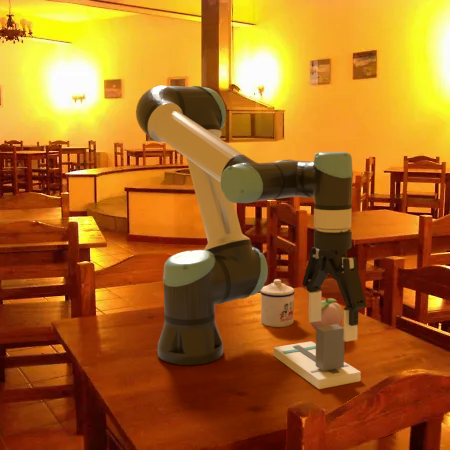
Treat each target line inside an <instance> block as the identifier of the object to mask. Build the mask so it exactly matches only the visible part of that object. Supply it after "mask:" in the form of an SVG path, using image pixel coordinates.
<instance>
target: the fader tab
mask: <svg viewBox="0 0 450 450" xmlns="http://www.w3.org/2000/svg"><path fill="white" fill-rule="evenodd" d="M315 337H316V338H315V344H316V367H318V368H319V369H321V370H322V371H326V370H332V369H337V368H343V367H344V362H345V341H344V326H341V325H338V324H334V325H327V326H320V327H316V330H315Z"/></svg>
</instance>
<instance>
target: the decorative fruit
mask: <svg viewBox="0 0 450 450" xmlns="http://www.w3.org/2000/svg"><path fill="white" fill-rule="evenodd" d="M337 302H338V300H337V299H335V298H332V297H330V298H328V296H326V299H324V300H321V321H317V322H311V323H310V325H311V327H312V328H313V329H314V330H315V331H316V327H320V326H327V325H334V324H338V325H340V326H341V325H342V323H343V321H344V309H343V308H342V306H341V304H339V303H337Z"/></svg>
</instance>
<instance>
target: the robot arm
mask: <svg viewBox="0 0 450 450" xmlns="http://www.w3.org/2000/svg"><path fill="white" fill-rule="evenodd" d="M135 117H136V121H137V124H138V126H139V127H140V129H141V130H142V132H143V133H145V134H146V135H147V136H148V138H149V137H150V138H151V139H152V140H154V141H155V142H158V143H165V144H166V145H168V146H169V147H171V148H173V150H175V151H176V152H178V153H179V154H180V155H182V157H185V158H186V163H187V165H188V170H189V174H190V177H191V181H192V185H193V189H194V194H195V196H196V200H197V205H198V210H199V212H200V216H201V220H202V224H203V229H204V232H205V235H206V239H207V244H206V246H205V247H204V249H203V250H202V249H193V250H186V251H182V252H179V253H175V254H173V255H171V256H170V257H168V258H167V259H166V261H165V262H164V265H163V276H162V282H163V300H164V301H163V303H164V304H163V305H164V306H163V307H164V308H163V309H164V312H163V313H164V323H163V325H162V328H161V329H162V330H161V333H160V336H159V339H158V342H157V355H158V358H159V359H160V360H162V361H163V362H166V363H169V364H173V365H179V366H197V365H204V364H208V363H212V362H214V361H216V360H218V359H220V358H221V357H222V356H223V353H224V345H223V340H222V337H221V333H220V331H219V329H218V325H217V322H216V305H219V304H220V305H221V304H224V303H229V302H232V301H237V300H243V299H247V298H249V297H250V296H253V295H256V294H258V293H259V292H260V291H261V289H262V288H263V287H264V286H265V283H266V282H267V280H268V279H267V278H268V273H269V272H268V263H267V259H266V257H265V254H264V253H262V252H261V250H260V249H258V248H257V247H254V246H253V245H252V241H251V238H250V237H248V236H247V235H245V234H243V231H242V227H241V225H240V224H241V223H240V221H239V218H238V217H239V216H238V212H237V209H236V206H235V204H250V203H253V202H254V203H255V202H262V201H269V200H278V199H284V198H294V197H296V198H297V197H298V198H299V197H301V198H311V199H313V227H314V228H316V229H315V230H314V231H313V247H310V249H309V251H310V252H309V259H308V263H307V266H306V269H305V272H304V276H303V280H302V287H305V288H306V291H307V292H308V322H309V323H310V324H311V322H317V321H321V301H322V291H321V290H322V287H321V286H322V285H323V283H324V282H325V279H326V278H327V276H328V275H330V276H331V277H332V279H333V280H335V281H336V283H337V286H338V288H339V291H340V294H341V297H342V299H343V302H344V303H345V306H344V308H343V313H344V316H343V328H344V343H345V342H353V341H357V340H358V325H359V312H360V311H359V309H363V308H367V302H366V299H365V294H364V290H363V287H362V283H361V278H360V275H359V269H358V259H357V258H356V257H354V256H353V257H347V255H348V254H347V251H348V250H350V249H351V248H352V246H353V245H352V238H353V237H352V230H351V229H350V228H351V227H352V214H353V213H352V210H353V209H352V207H353V205H352V204H353V203H352V195H353V179H354V171H353V158H352V155H351V154H350V153H349V152H346V151H321V152H320V151H319V152H316V153H314V157H313V161H308V160H294V159H281V160H276V161H272V162H270V161H269V162H257V161H255V160H253V159H251V158H250V157H248V156H246V155H245V154H243V153H242V152H241V151H240V150H237V148H234V147H233V146H232V145H230V144H228V143H227V142H226V141H224V140H222V139H221V136H222V134H223V133H222V129H223V127H224V126H225V123H226V119H225V118H226V117H227V111H226V105H225V103H224V100H223V99H222V97H221V96H220V94H219V93H218V92H217V91H215V90H214V89H213V88H209V87H205V86H204V87H203V86H200V85H193V86H182V85H181V86H179V85H177V86H174V85H172V86H171V85H158V86H154V87H151V88H149V89H148V90H146V91H145V92H144V93H143V94H142V95H141V97H140V98H139V99H138V102H137V104H136V110H135Z"/></svg>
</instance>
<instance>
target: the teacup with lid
mask: <svg viewBox="0 0 450 450" xmlns="http://www.w3.org/2000/svg"><path fill="white" fill-rule="evenodd" d="M259 292H260V322H261V323H262V325H264V326H266V327H270V328H271V327H272V328H284V327H289V326H291V325H293V323H294V305H295V303H294V301H295V299H294V298H295V297H294V296H295V289H294V288H293V287H292V286H289V285H287V284H285V283H282V280H281V279H278V278H276V279H274V280H273V282H271V283H270V284H268V285H264V286H263V288H262V289H261V290H260V291H259Z"/></svg>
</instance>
